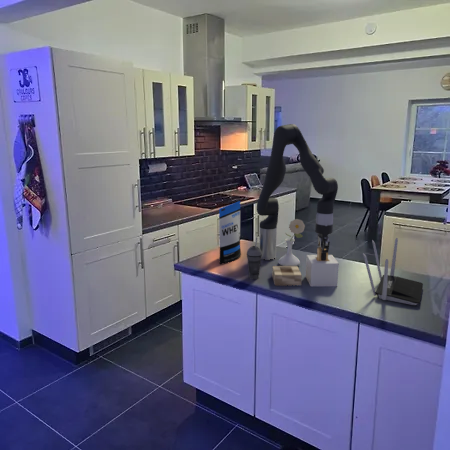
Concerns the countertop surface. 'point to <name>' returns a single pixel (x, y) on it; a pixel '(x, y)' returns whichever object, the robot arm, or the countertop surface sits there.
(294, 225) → the flower in vase
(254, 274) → the beverage cup
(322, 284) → the white square socket block
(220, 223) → the protein powder
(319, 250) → the plug
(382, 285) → the wireless router
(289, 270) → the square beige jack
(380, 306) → the countertop surface
